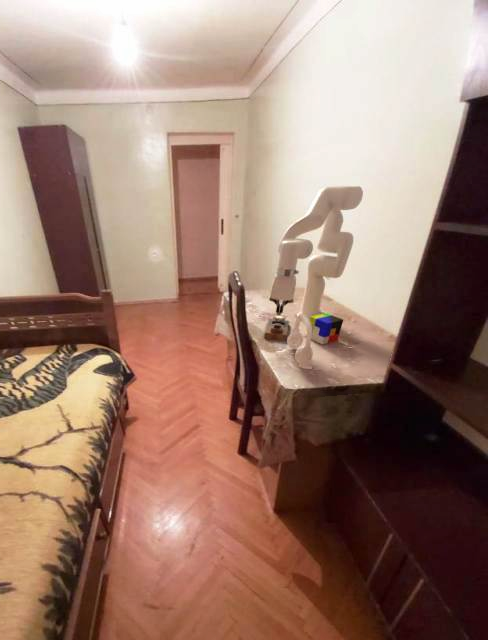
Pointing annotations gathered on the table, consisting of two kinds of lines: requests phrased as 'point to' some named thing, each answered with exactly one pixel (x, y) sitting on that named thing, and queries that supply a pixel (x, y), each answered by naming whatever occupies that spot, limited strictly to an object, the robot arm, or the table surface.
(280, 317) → the key ivory
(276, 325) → the key ebony
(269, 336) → the block walnut
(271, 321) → the block black
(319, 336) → the puzzle toy
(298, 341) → the headset
